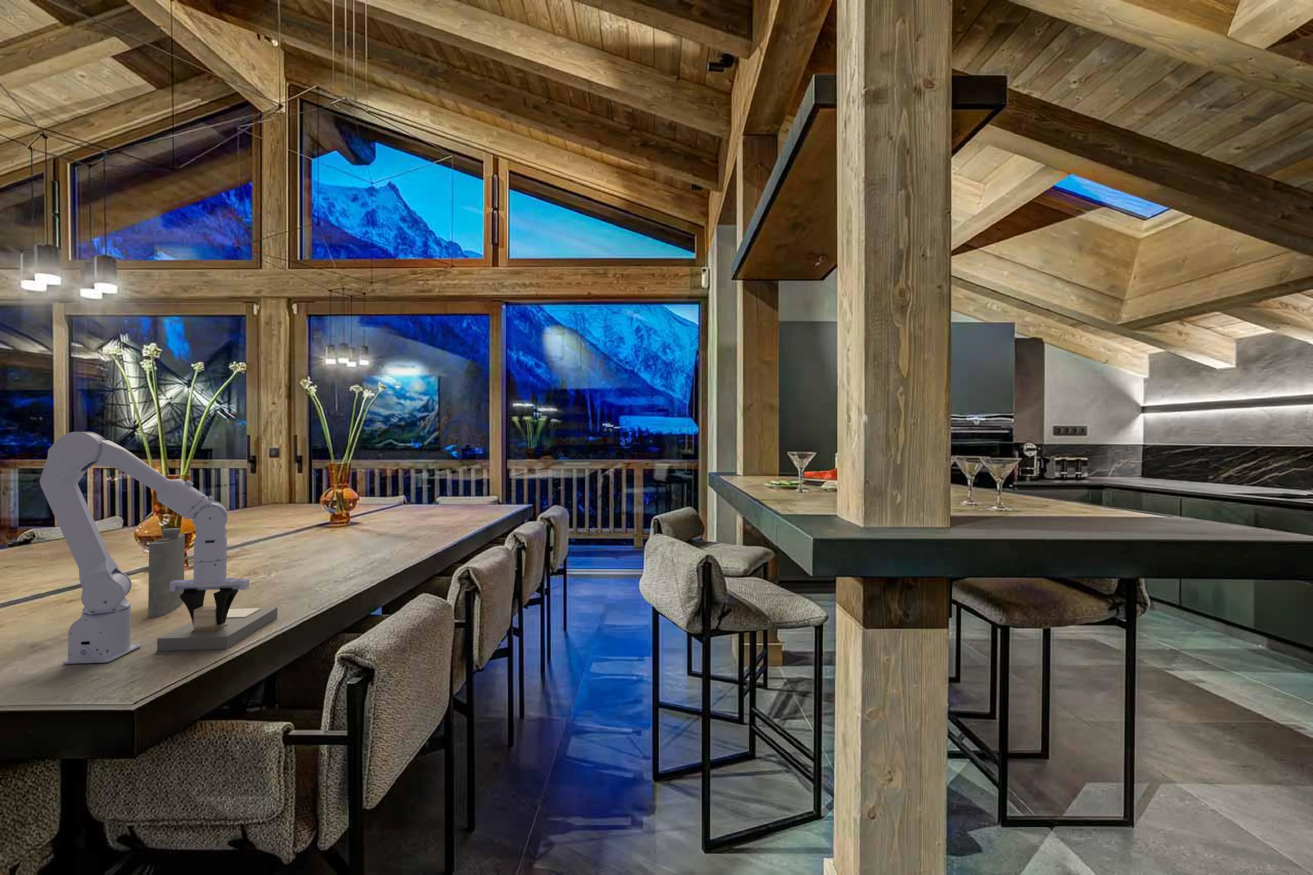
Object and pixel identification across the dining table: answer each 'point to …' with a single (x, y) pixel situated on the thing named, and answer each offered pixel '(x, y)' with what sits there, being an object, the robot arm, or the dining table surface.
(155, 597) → the hip flask
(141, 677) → the dining table surface
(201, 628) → the peg
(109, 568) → the robot arm
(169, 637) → the pocket plate
